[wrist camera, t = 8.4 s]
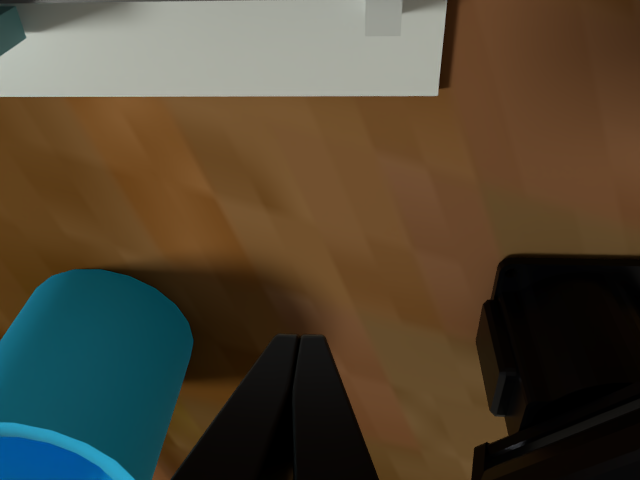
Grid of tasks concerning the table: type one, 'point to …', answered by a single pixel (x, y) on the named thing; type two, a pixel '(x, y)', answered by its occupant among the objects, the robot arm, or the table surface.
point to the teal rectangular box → (10, 28)
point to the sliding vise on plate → (225, 48)
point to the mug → (90, 379)
